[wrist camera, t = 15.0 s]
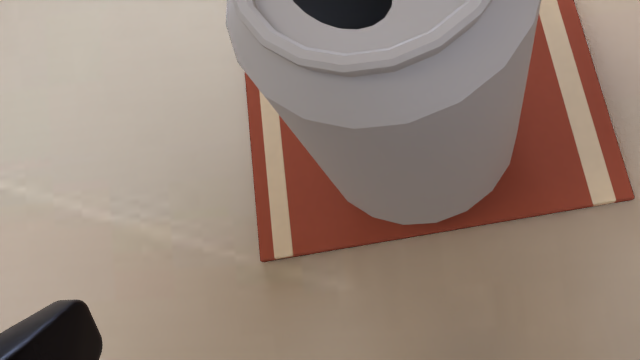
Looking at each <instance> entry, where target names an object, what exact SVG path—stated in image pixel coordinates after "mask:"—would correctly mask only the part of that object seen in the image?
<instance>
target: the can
mask: <svg viewBox="0 0 640 360" xmlns="http://www.w3.org/2000/svg"><path fill="white" fill-rule="evenodd" d="M540 4H541V0H227V13H226V26H227V29H228V32H229V36H230V39H231V42H232V45H233V48H234V52H235V55H236V58H237V61H238V63H239V65H240V66H241V67H242V69H243V70H244V71H245V72H246V74H247V75H248V76H249V77H250V79H251V80H252V81H253V82H254V84H255V85H256V86H257V88H258V89H259V90H260V91H261V93H262V94H263V95H264V96H265V98H266V99H267V100H268V101H269V103H270V104H271V105H272V107H273V108H274V109H275V110H276V112H277V113H278V114H279V115H280V117H281V118H282V119H283V120H284V122H285V123H286V124H287V125H288V127H289V128H290V129H291V131H292V132H293V133H294V134H295V136H296V137H297V138H298V139H299V141H300V142H301V143H302V144H303V146H304V147H305V148H306V150H307V151H308V152H309V153H310V155H311V156H312V157H313V158H314V160H315V161H316V162H317V163H318V165H319V166H320V167H321V169H322V170H323V171H324V172H325V174H326V175H327V176H328V177H329V179H330V180H331V181H332V182H333V184H334V185H335V186H336V187H337V189H338V190H339V191H340V192H341V194H342V195H343V196H344V197H345V199H346V200H347V201H348V202H350V203H351V204H353V205H354V206H356V207H358V208H359V209H361V210H362V211H364V212H365V213H367V214H369V215H370V216H372V217H374V218H378V219H382V220H386V221H390V222H394V223H398V224H402V225H410V224H426V223H437V222H440V221H442V220H445V219H447V218H450V217H453V216H455V215H458V214H461V213H463V212H466V211H468V210H469V209H470V208H471V207H473V206H474V205H475V204H476V203H478V202H479V201H480V200H481V199H483V198H484V197H485V196H486V195H488V194H489V193H490V192H491V191H493V189H494V187H495V186H496V184H497V183H498V181H499V180H500V178H501V177H502V175H503V174H504V172H505V171H506V169H507V167H508V166H509V164H510V161H511V157H512V153H513V148H514V144H515V140H516V136H517V131H518V126H519V120H520V115H521V109H522V104H523V98H524V92H525V87H526V81H527V76H528V70H529V65H530V59H531V54H532V48H533V43H534V37H535V32H536V26H537V21H538V15H539V10H540Z"/></svg>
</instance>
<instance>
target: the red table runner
mask: <svg viewBox="0 0 640 360" xmlns="http://www.w3.org/2000/svg"><path fill="white" fill-rule="evenodd" d="M245 80H246V92H247V104H248V116H249V129H250V141H251V153H252V165H253V177H254V189H255V202H256V214H257V226H258V238H259V250H260V261H262V262H267V261H273V260H279V259H284V258H290V257H296V256H302V255H308V254H314V253H320V252H326V251H332V250H338V249H344V248H350V247H356V246H362V245H368V244H373V243H379V242H385V241H391V240H397V239H403V238H409V237H415V236H421V235H427V234H433V233H439V232H445V231H451V230H457V229H462V228H468V227H474V226H480V225H486V224H492V223H498V222H504V221H510V220H516V219H522V218H528V217H534V216H540V215H545V214H551V213H557V212H563V211H569V210H575V209H581V208H587V207H593V206H599V205H605V204H611V203H617V202H623V201H629V200H633V199H634V194H633V191H632V188H631V185H630V181H629V178H628V175H627V172H626V168H625V165H624V162H623V159H622V155H621V152H620V149H619V146H618V142H617V139H616V136H615V133H614V129H613V126H612V123H611V120H610V117H609V113H608V110H607V107H606V104H605V100H604V97H603V94H602V91H601V87H600V84H599V81H598V78H597V74H596V71H595V68H594V65H593V62H592V58H591V55H590V52H589V49H588V45H587V42H586V39H585V36H584V32H583V29H582V26H581V23H580V19H579V16H578V13H577V10H576V7H575V3H574V0H541V4H540V10H539V15H538V21H537V26H536V32H535V37H534V43H533V48H532V54H531V59H530V65H529V70H528V76H527V81H526V87H525V92H524V98H523V104H522V109H521V115H520V120H519V126H518V131H517V136H516V140H515V144H514V148H513V153H512V157H511V161H510V164H509V166H508V167H507V169H506V171H505V172H504V174H503V175H502V177H501V178H500V180H499V181H498V183H497V184H496V186H495V187H494V189H493V191H491V192H490V193H489V194H488V195H486V196H485V197H484V198H483V199H481V200H480V201H479V202H478V203H476V204H475V205H474V206H473V207H471V208H470V209H469V210H468V211H466V212H463V213H461V214H458V215H455V216H453V217H450V218H447V219H445V220H442V221H440V222H437V223H426V224H410V225H402V224H398V223H394V222H390V221H386V220H382V219H378V218H374V217H372V216H370V215H369V214H367V213H365V212H364V211H362V210H361V209H359V208H358V207H356V206H354V205H353V204H351V203H350V202H348V201H347V200H346V199H345V197H344V196H343V195H342V194H341V192H340V191H339V190H338V189H337V187H336V186H335V185H334V184H333V182H332V181H331V180H330V179H329V177H328V176H327V175H326V174H325V172H324V171H323V170H322V169H321V167H320V166H319V165H318V163H317V162H316V161H315V160H314V158H313V157H312V156H311V155H310V153H309V152H308V151H307V150H306V148H305V147H304V146H303V144H302V143H301V142H300V141H299V139H298V138H297V137H296V136H295V134H294V133H293V132H292V131H291V129H290V128H289V127H288V125H287V124H286V123H285V122H284V120H283V119H282V118H281V117H280V115H279V114H278V113H277V112H276V110H275V109H274V108H273V107H272V105H271V104H270V103H269V101H268V100H267V99H266V98H265V96H264V95H263V94H262V93H261V91H260V90H259V89H258V88H257V86H256V85H255V84H254V82H253V81H252V80H251V79H250V77H249V76H248V75H247V74H246V72H245Z"/></svg>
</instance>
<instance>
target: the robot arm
mask: <svg viewBox="0 0 640 360" xmlns="http://www.w3.org/2000/svg"><path fill="white" fill-rule="evenodd" d="M101 352H102V338H101V335H100V333H99V330H98V328H97V326H96V324H95V322H94V319H93V317H92V315H91V313H90V310H89V308H88V306H87V305H86V304H85V303H84V302H83V301H81V300H60V301H56V302H54V303H52V304H50V305H49V306H47V307H45V308H43V309H42V310H40V311H38V312H37V313H35V314H33V315H31V316H30V317H28V318H26V319H24V320H23V321H21V322H19V323H17V324H16V325H14V326H12V327H10V328H9V329H7V330H5V331H3V332H2V333H0V360H99V358H100V355H101Z"/></svg>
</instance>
